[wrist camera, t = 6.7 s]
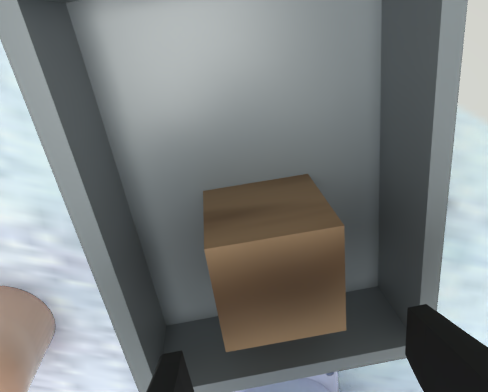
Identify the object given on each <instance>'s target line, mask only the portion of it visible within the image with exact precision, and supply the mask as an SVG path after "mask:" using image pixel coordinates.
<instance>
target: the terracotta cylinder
mask: <svg viewBox="0 0 488 392" xmlns="http://www.w3.org/2000/svg"><path fill="white" fill-rule="evenodd" d="M54 333H55V321H54V317H53V315H52V313H51V311H50V310H49V308H48V307H47V306H46V305H45V304H44V303H43V302H42V301H41V300H40V299H38V298H37V297H35V296H34V295H32V294H30V293H28V292H26V291H23V290H20V289H17V288H13V287H7V286H0V392H28V390H29V387H30V385H31V383H32V381H33V379H34V377H35V374H36V372H37V370H38V368H39V366H40V364H41V362H42V359H43V357H44V355H45V353H46V351H47V349H48V346H49V344H50V342H51V340H52V338H53V335H54Z"/></svg>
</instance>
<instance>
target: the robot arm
mask: <svg viewBox="0 0 488 392" xmlns="http://www.w3.org/2000/svg"><path fill="white" fill-rule="evenodd" d="M405 355H406V357H407V359H408V361H409V363H410V366H411V368H412V370H413V372H414V374H415V376H416V378H417V380H418V382H419V384H420V386H421V388H422V389H423V391H424V392H488V347H486V346H485V345H483V344H482V343H481V342H479V341H478V340H476V339H475V338H473V337H472V336H470V335H469V334H468V333H466V332H465V331H463V330H462V329H461V328H459V327H458V326H456V325H455V324H454V323H452V322H451V321H449V320H448V319H447V318H445V317H444V316H442V315H441V314H440V313H438V312H437V311H435V310H434V309H433V308H431V307H430V306H428V305H427V304H424V305H418V306H413V307H408V309H407V327H406V346H405ZM146 392H194V389H193V386H192V382H191V379H190V376H189V372H188V369H187V366H186V362H185V359H184V355H183V352H182V350H181V351H176V352H171V353H165V354H162V355H161V357H160V358H159V361H158V364H157V367H156V369H155V372H154V374H153V377H152V379H151V382H150V384H149V386H148V389H147V391H146ZM234 392H339V390H338V371H337V372H332V373H327V374H322V375H316V376H311V377H306V378H301V379H296V380H291V381H285V382H280V383H275V384H270V385H265V386H260V387H255V388H249V389H244V390H239V391H234Z"/></svg>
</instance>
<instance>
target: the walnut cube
mask: <svg viewBox="0 0 488 392" xmlns="http://www.w3.org/2000/svg"><path fill="white" fill-rule="evenodd" d="M203 216H204V251H205V256H206V261H207V265H208V270H209V275H210V280H211V284H212V289H213V294H214V299H215V303H216V308H217V313H218V317H219V322H220V327H221V332H222V336H223V341H224V346H225V351H226V352H230V351H236V350H241V349H247V348H252V347H258V346H263V345H269V344H274V343H280V342H285V341H291V340H296V339H302V338H307V337H313V336H319V335H324V334H330V333H335V332H341V331H346V286H345V235H344V224H343V223H342V222H341V220H340V219H339V217H338V216H337V214H336V213H335V212H334V210H333V209H332V207H331V206H330V204H329V203H328V202H327V200H326V199H325V197H324V196H323V195H322V193H321V192H320V190H319V189H318V187H317V186H316V185H315V183H314V182H313V180H312V179H311V177H310V176H309V175H308V174H303V175H297V176H291V177H285V178H279V179H273V180H267V181H261V182H254V183H248V184H242V185H236V186H230V187H224V188H218V189H212V190H206V191H203Z"/></svg>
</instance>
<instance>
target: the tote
mask: <svg viewBox="0 0 488 392" xmlns="http://www.w3.org/2000/svg"><path fill="white" fill-rule="evenodd" d="M467 2H468V0H0V39H1V42H2V44H3V47H4V50H5V52H6V55H7V57H8V60H9V62H10V65H11V67H12V70H13V72H14V75H15V78H16V80H17V83H18V85H19V88H20V90H21V93H22V95H23V98H24V100H25V103H26V106H27V108H28V111H29V113H30V116H31V118H32V121H33V123H34V126H35V128H36V131H37V134H38V136H39V139H40V141H41V144H42V146H43V149H44V151H45V154H46V157H47V159H48V162H49V164H50V167H51V169H52V172H53V174H54V177H55V179H56V182H57V185H58V187H59V190H60V192H61V195H62V197H63V200H64V202H65V205H66V207H67V210H68V213H69V215H70V218H71V220H72V223H73V225H74V228H75V230H76V233H77V235H78V238H79V241H80V243H81V246H82V248H83V251H84V253H85V256H86V258H87V261H88V264H89V266H90V269H91V271H92V274H93V276H94V279H95V281H96V284H97V286H98V289H99V292H100V294H101V297H102V299H103V302H104V304H105V307H106V309H107V312H108V314H109V317H110V320H111V322H112V325H113V327H114V330H115V332H116V335H117V337H118V340H119V342H120V345H121V348H122V350H123V353H124V355H125V358H126V360H127V363H128V365H129V368H130V371H131V373H132V376H133V378H134V381H135V383H136V386H137V388H138V391H139V392H146V391H147V389H148V386H149V384H150V382H151V379H152V377H153V374H154V372H155V369H156V367H157V364H158V361H159V358H160V357H161V355H162V354H165V353H171V352H176V351H181V350H182V352H183V355H184V359H185V362H186V366H187V369H188V372H189V376H190V379H191V382H192V386H193V389H194V392H234V391H239V390H244V389H249V388H255V387H260V386H265V385H270V384H275V383H280V382H285V381H291V380H296V379H301V378H306V377H311V376H316V375H322V374H327V373H332V372H337V371H342V370H347V369H352V368H358V367H363V366H368V365H373V364H378V363H383V362H388V361H394V360H399V359H404V358H407V357H406V355H405V346H406V327H407V309H408V307H413V306H418V305H424V304H427V305H428V306H430V307H431V308H433V309H434V310H435V311H437V302H438V292H439V282H440V272H441V262H442V252H443V242H444V232H445V222H446V212H447V202H448V192H449V182H450V172H451V162H452V152H453V142H454V132H455V122H456V112H457V102H458V92H459V81H460V72H461V62H462V52H463V41H464V32H465V22H466V12H467ZM303 174H308V175H309V176H310V177H311V179H312V180H313V182H314V183H315V185H316V186H317V187H318V189H319V190H320V192H321V193H322V195H323V196H324V197H325V199H326V200H327V202H328V203H329V204H330V206H331V207H332V209H333V210H334V212H335V213H336V214H337V216H338V217H339V219H340V220H341V222H342V223H343V224H344V235H345V286H346V331H341V332H335V333H330V334H324V335H319V336H313V337H307V338H302V339H296V340H291V341H285V342H280V343H274V344H269V345H263V346H258V347H252V348H247V349H241V350H236V351H230V352H226V351H225V346H224V341H223V336H222V332H221V327H220V322H219V317H218V313H217V308H216V303H215V299H214V294H213V289H212V284H211V280H210V275H209V270H208V265H207V261H206V256H205V251H204V216H203V191H206V190H212V189H218V188H224V187H230V186H236V185H242V184H248V183H254V182H261V181H267V180H273V179H279V178H285V177H291V176H297V175H303Z"/></svg>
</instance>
